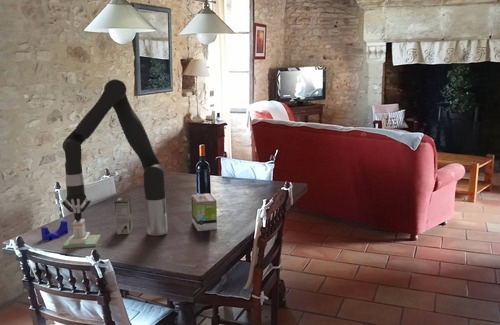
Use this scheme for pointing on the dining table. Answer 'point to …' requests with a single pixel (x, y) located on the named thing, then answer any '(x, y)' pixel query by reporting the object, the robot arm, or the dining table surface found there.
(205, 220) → the tea box
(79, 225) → the plug
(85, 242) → the board
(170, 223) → the dining table surface
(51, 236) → the blue arch block
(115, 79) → the robot arm
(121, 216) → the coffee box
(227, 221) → the dining table surface
